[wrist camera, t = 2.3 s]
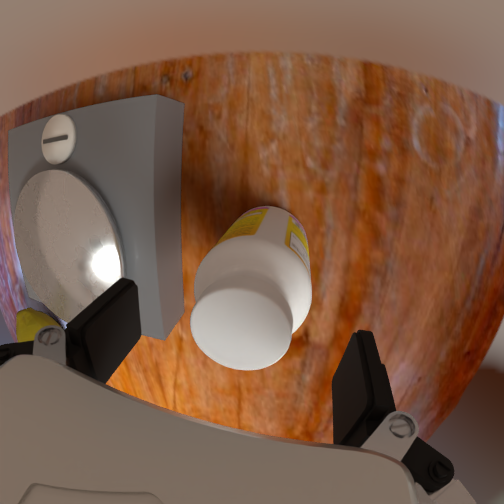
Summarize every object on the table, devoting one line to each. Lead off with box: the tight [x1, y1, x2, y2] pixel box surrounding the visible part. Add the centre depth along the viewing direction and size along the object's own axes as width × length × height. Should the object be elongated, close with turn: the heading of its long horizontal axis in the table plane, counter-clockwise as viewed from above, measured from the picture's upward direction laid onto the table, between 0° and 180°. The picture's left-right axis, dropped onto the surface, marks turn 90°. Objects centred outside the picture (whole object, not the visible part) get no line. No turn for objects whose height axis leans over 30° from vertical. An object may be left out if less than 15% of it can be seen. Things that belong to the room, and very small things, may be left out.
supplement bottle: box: [190, 206, 312, 370], centre depth 18 cm, size 7×7×13 cm
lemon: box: [16, 308, 61, 342], centre depth 30 cm, size 11×8×8 cm
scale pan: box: [14, 169, 127, 323], centre depth 21 cm, size 15×15×1 cm
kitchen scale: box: [8, 94, 184, 340], centre depth 23 cm, size 20×20×6 cm
